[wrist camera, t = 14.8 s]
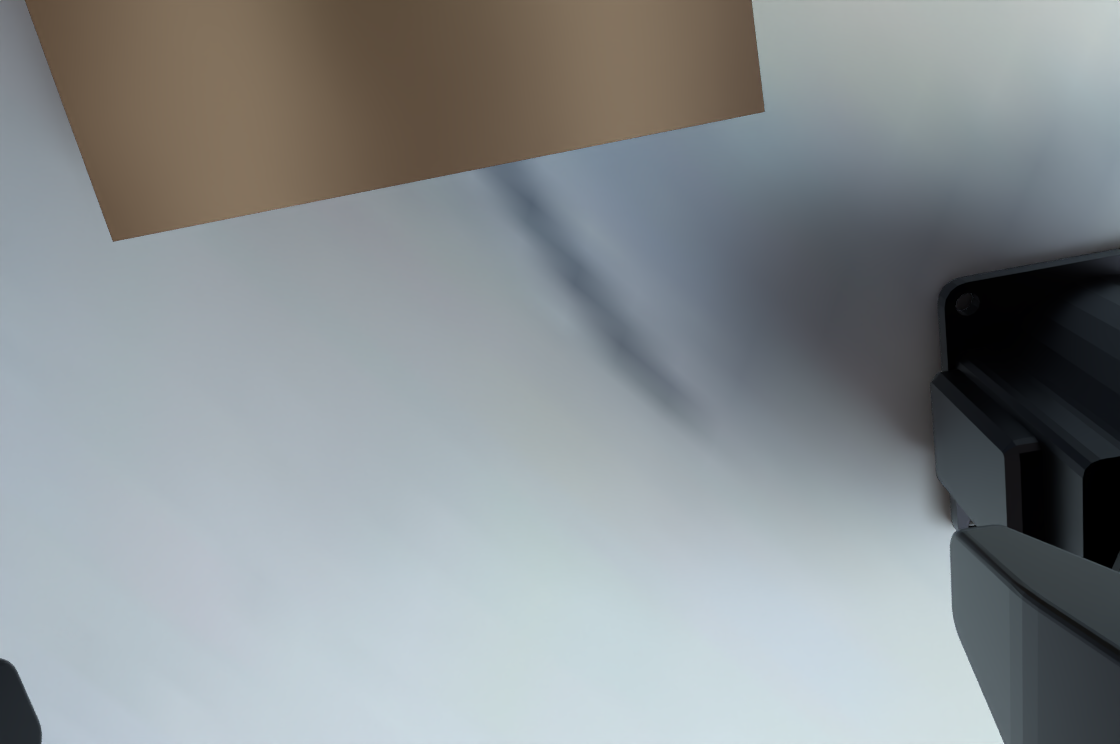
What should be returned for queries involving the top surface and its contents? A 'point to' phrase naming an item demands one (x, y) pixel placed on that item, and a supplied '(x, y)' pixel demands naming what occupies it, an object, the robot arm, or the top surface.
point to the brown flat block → (369, 91)
